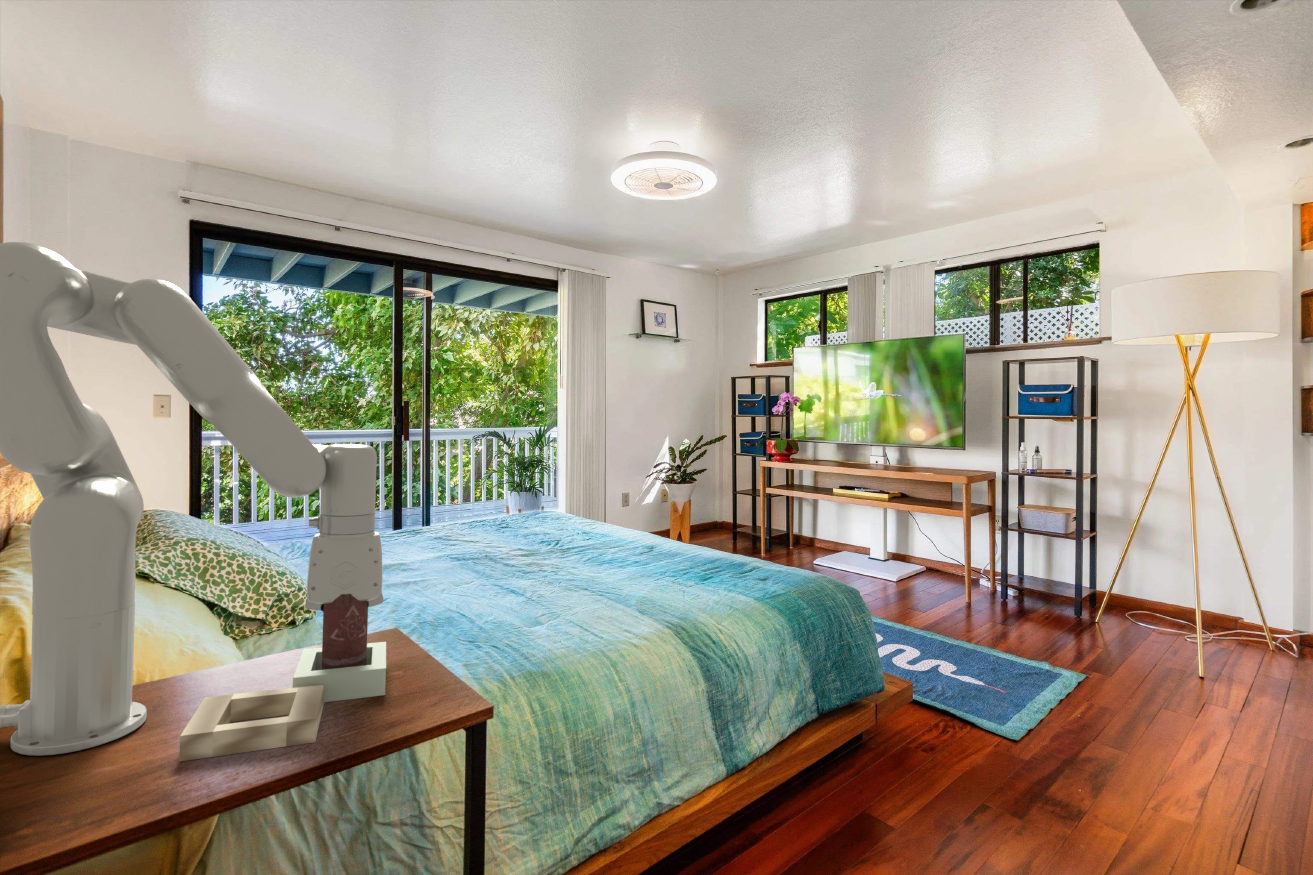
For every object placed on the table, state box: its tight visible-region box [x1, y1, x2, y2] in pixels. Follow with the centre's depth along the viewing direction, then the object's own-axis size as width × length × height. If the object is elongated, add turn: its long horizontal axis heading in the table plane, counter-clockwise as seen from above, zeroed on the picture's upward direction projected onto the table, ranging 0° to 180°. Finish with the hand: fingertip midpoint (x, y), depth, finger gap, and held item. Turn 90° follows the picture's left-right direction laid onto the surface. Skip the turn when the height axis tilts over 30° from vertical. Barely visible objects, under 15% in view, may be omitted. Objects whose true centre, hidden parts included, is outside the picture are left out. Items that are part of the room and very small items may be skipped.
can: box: [321, 594, 369, 670], centre depth 96 cm, size 6×6×14 cm
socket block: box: [178, 684, 325, 762], centre depth 81 cm, size 14×11×3 cm
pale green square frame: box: [292, 641, 387, 703], centre depth 96 cm, size 12×12×4 cm
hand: (344, 644), depth 96 cm, fingers closed
